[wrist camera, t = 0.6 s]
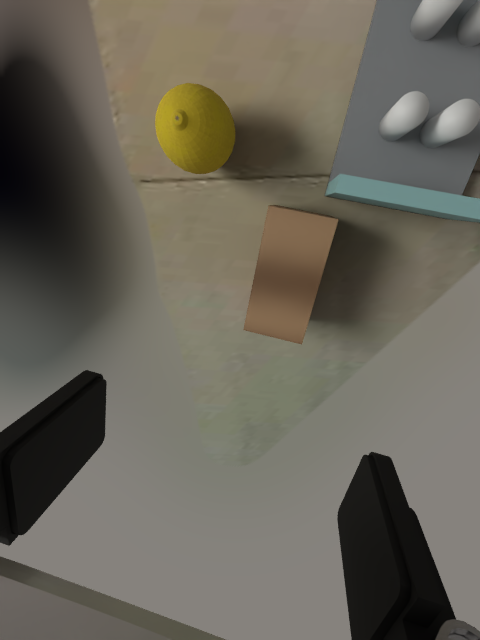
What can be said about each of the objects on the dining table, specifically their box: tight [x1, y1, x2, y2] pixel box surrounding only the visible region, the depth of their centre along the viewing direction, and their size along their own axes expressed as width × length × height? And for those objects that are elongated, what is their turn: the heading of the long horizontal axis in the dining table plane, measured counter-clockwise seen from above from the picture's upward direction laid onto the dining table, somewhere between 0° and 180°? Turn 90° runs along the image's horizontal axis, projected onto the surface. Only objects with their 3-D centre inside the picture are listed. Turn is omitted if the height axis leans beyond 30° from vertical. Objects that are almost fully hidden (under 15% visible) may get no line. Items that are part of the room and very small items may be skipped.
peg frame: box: [325, 0, 480, 223], centre depth 18 cm, size 17×10×9 cm, turn 169°
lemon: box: [155, 83, 235, 174], centre depth 22 cm, size 6×6×8 cm
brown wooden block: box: [244, 205, 339, 344], centre depth 26 cm, size 10×5×6 cm, turn 169°
